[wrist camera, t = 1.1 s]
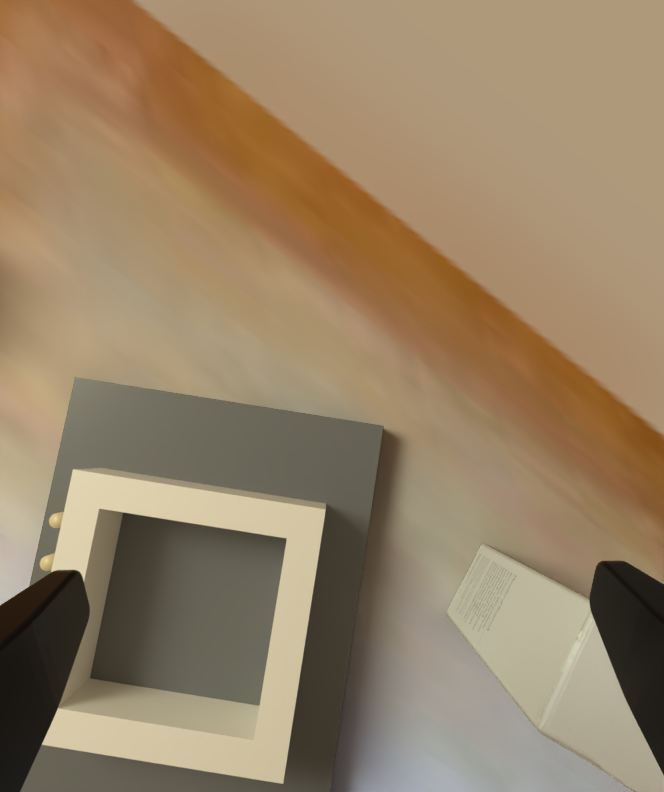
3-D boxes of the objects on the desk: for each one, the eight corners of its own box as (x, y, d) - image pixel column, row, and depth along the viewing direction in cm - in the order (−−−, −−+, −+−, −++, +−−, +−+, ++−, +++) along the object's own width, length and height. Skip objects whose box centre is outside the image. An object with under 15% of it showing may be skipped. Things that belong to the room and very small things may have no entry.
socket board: (321, 831, 25) (321, 905, 21) (-1, 779, 25) (-65, 842, 21) (380, 427, 28) (390, 422, 24) (85, 380, 28) (43, 367, 24)
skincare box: (582, 597, 27) (787, 709, 15) (545, 673, 26) (726, 851, 14) (479, 538, 27) (598, 601, 15) (440, 612, 27) (533, 737, 15)
